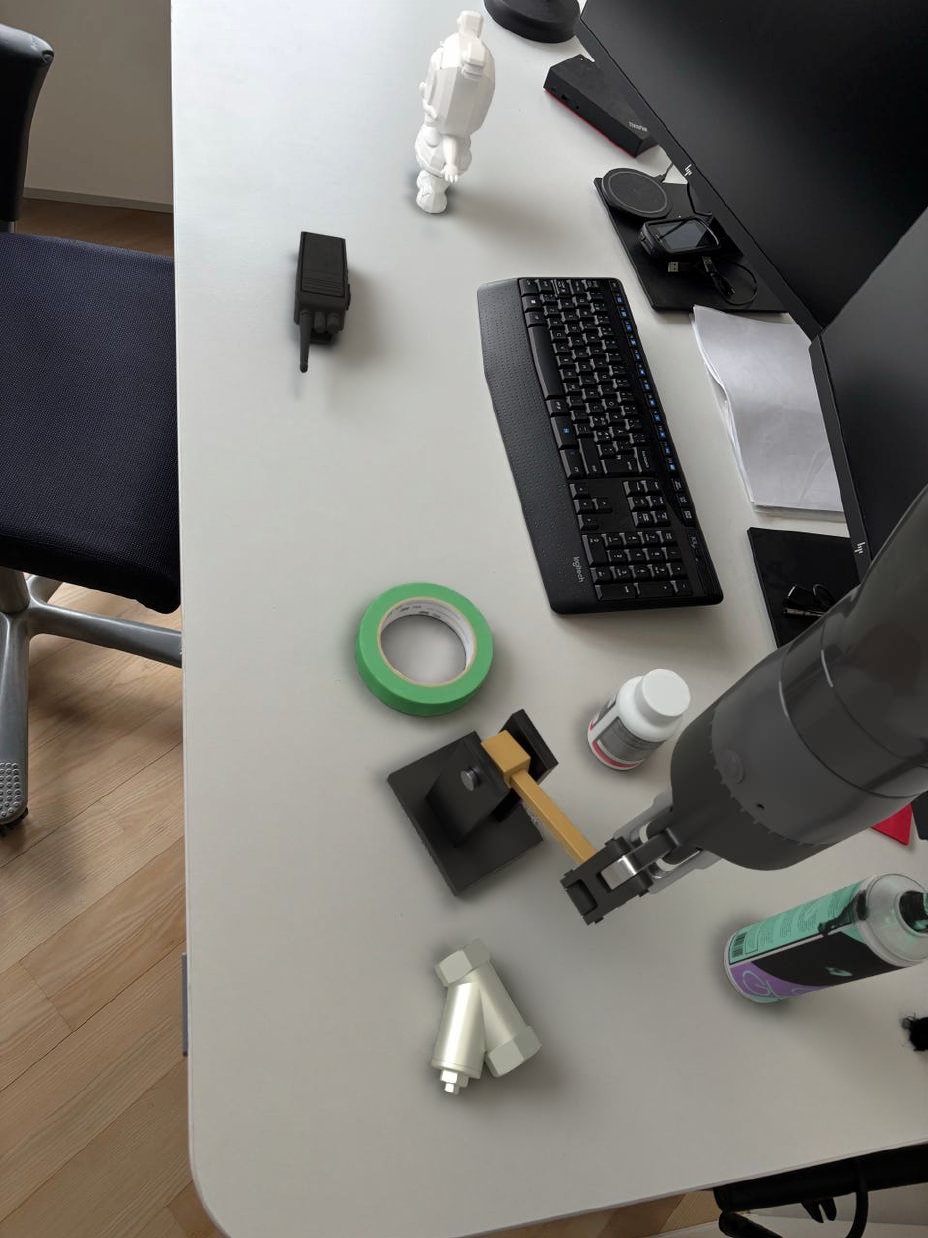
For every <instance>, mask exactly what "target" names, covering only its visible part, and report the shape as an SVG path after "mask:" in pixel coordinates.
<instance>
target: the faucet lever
mask: <svg viewBox="0 0 928 1238" xmlns="http://www.w3.org/2000/svg"><path fill="white" fill-rule="evenodd" d="M481 744H482V746H483V748H484V749H485V751H486V752H487V754H488V756H489V757H490V759H491V760H492V762H493V764H494V765H495V767H496V768H497V770H498V771H499V773H500V775H501V776H502V778H503V779H504V781H505V783H506V784H507V786H508V787H509V789H510V788H511V787H512V788H513V789H514V790H515V791H516V792H517V793H518V795H519V796H520V797H521V798H522V799H523V800H524V801H523V802H524V803H525V804H526V806H528V808H529V810H531V811H532V812H533V813H534V815H535V816H536V817H537V818H538V820H539V821H540V822H541V823H542V824H543V825H544V826H545V828H546V829H547V830H548V831H549V832H550V833H551V835H552V836H553V837H554V838H555V839H556V841H557V842H558V843H559V844H560V845H561V846H562V848H563V849H564V850H565V851H566V852H567V854H568V855H569V856H570V857H571V858H572V859H573V861H575V863H576V864H577V865H578V867H579V866H580V865H581V864H583V863H584V862H585V861H587V860H588V859H589V858H591V857H592V856H593V855H595V854H596V853H597V852H598V851H597V850H596V849H595V848H594V846H593V845H592V844H591V843H590V841H588V840H587V838H585V836H584V835H583V834H582V833H581V832H580V831H579V830H578V829H577V827H576V826H575V825H574V824H573V823H572V821H570V819H569V818H568V817H567V816H566V814H565V813H563V812H562V810H561V809H560V808H559V807H558V806H557V805H556V804H555V802H554V801H553V800H552V799H551V798H550V797H549V795H547V793H546V792H545V791H544V790H543V789H542V787H541V786H540V784H539V785H538V784H537V783H536V782H535V781H534V780H533V779H532V777H531V776H530V775H529V774H528V770H529V765H530V760H531V758H530V756H529V755H528V754H527V753H526V752H525V751H524V750H523V748H522V747H521V746H520V745H519V744H518V743H517V742H516V741H515V739H514V738H513V737H512V736H511V735H510V734H509V733H508V732H507V730H504V731H502V732H500V733H499V732H497V733H496V734H495V735H493V736H491V737H489V738H487V739H486V740H482V742H481Z"/></svg>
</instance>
